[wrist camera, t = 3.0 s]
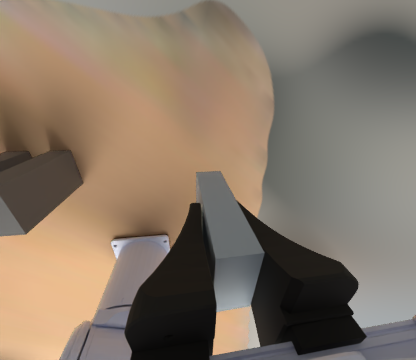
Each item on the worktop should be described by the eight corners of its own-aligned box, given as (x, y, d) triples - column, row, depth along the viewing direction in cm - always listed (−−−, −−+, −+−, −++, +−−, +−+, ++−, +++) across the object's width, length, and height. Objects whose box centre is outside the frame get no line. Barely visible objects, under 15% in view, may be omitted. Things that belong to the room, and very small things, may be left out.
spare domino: (220, 171, 14) (264, 252, 7) (217, 210, 15) (250, 306, 8) (195, 172, 13) (214, 259, 6) (195, 211, 15) (210, 312, 8)
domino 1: (70, 150, 18) (-5, 188, 11) (83, 183, 19) (25, 234, 12) (49, 150, 17) (-44, 190, 10) (63, 184, 19) (-6, 236, 12)
